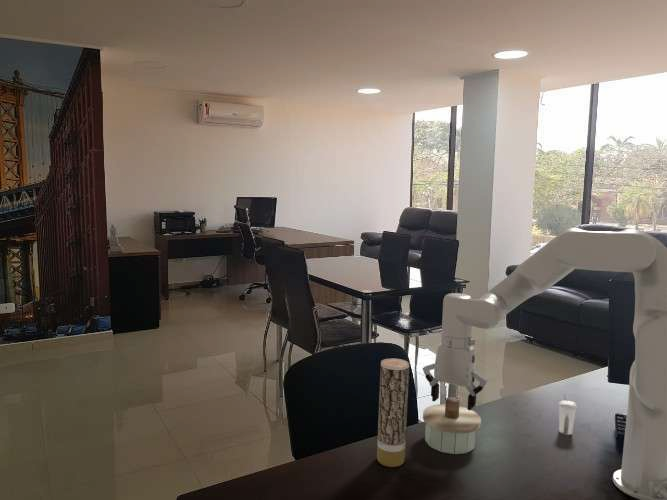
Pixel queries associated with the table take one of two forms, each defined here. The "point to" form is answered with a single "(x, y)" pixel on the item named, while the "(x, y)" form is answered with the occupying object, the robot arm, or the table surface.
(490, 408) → the table surface
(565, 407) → the milkshake
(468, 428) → the lid
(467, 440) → the bowl
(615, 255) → the robot arm
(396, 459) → the log-textured cylinder
